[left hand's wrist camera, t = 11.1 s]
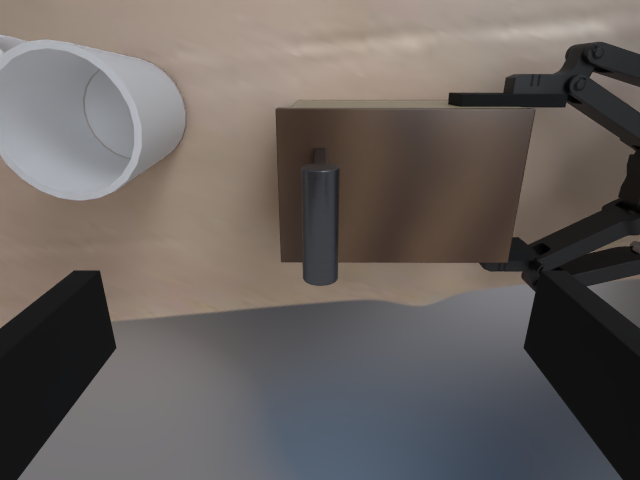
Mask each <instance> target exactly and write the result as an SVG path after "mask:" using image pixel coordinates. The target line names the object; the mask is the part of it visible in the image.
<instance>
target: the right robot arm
mask: <svg viewBox="0 0 640 480" xmlns="http://www.w3.org/2000/svg"><path fill="white" fill-rule="evenodd" d="M565 59H566V61H565V63H564V65H563V67H562V68H561V69H560V70H559V71H558V72H556V73H554V74H514V75H511V76H509V77H506V80H505V86H504V93H449V100H448V104H450V105H454V106H459V107H565V106H566V102H567V103H569V104H570V105H572V106H573V107H575V108H576V109H578V110H579V111H581V112H582V113H584V114H585V115H586V116H588V117H589V118H591V119H592V120H594V121H595V122H597V123H598V124H600V125H601V126H603V127H604V128H606V129H607V130H609V131H610V132H612V133H613V134H615V135H616V136H618V137H619V138H620V140H621V141H622V142H623V143H625V144H626V145H628V146H629V147H631V148H632V149H634V150H635V151H636V152H635V153H634V154H630V156H629V159H628V163H627V177H626V179H625V181H624V182H623V184H622V186H621V189H620V193H619V196H618V197H619V199H617V200H615V201H612V202H610V203H608V204H606V205H604V206H603V207H602V210H601V211H600V212H597V213H595V214H593V215H591V216H589V217H587V218H585V219H582V220H580V221H578V222H576V223H574V224H572V225H570V226H567V227H565V228H563V229H561V230H559V231H557V232H555V233H553V234H550V235H548V236H546V237H544V238H542V239H540V240H538V241H535V242H533V243H531V244H529V245H527V244H526V243H525V242H524V241H522V240H521V239H520V238H519V237H512V241H511V246H510V252H509V257H508V262H507V263H480V265H481V266H482V267H483V268H484V269H486V270H488V271H523V272H522V276H521V277H522V279H523V280H524V281H525V282H526V283H527V284H528V285H529V286H530V287H531V288H532V289H533V290H534V291H535V292H536V288H537V283H538V279H539V274H540V271H567V272H568V273H570V274H571V275H572V276H573V277H575V278H576V279H577V280H579V281H580V282H581V283H582V284H584V285H585V286H590V285H594V284H599V283H603V282H608V281H612V280H616V279H621V278H625V277H629V276H634V275H638V274H640V241H639V242H637V241H633V242H632V243H631V244H630V247H627V246H624V247H615V248H610V249H606V250H602V251H598V252H594V253H590V252H592V251H594V250H596V249H598V248H601V247H603V246H605V245H607V244H609V243H612V242H614V241H616V240H618V239H620V238H623V237H625V236H628V235H639V234H640V113H639V112H638V111H636V110H635V109H633V108H632V107H631V106H629V105H628V104H626V103H625V102H623V101H622V100H620V99H619V98H618V97H616V96H615V95H613V94H612V93H610V92H609V91H607V90H606V89H605V88H603V87H602V86H600V85H599V84H597V83H596V82H594V81H593V80H592V79H590V78H589V77H590V75H591V74H592V72H595V73H598V74H601V75H604V76H607V77H610V78H614V79H617V80H620V81H623V82H626V83H629V84H632V85H635V86H638V87H640V54H637V53H634V52H631V51H628V50H625V49H622V48H619V47H616V46H613V45H610V44H607V43H604V42H594V43H586V44H578V45H573V46H571V47H570V48H569V49H568V50H567V52H566V55H565ZM587 253H589V254H587Z"/></svg>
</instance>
